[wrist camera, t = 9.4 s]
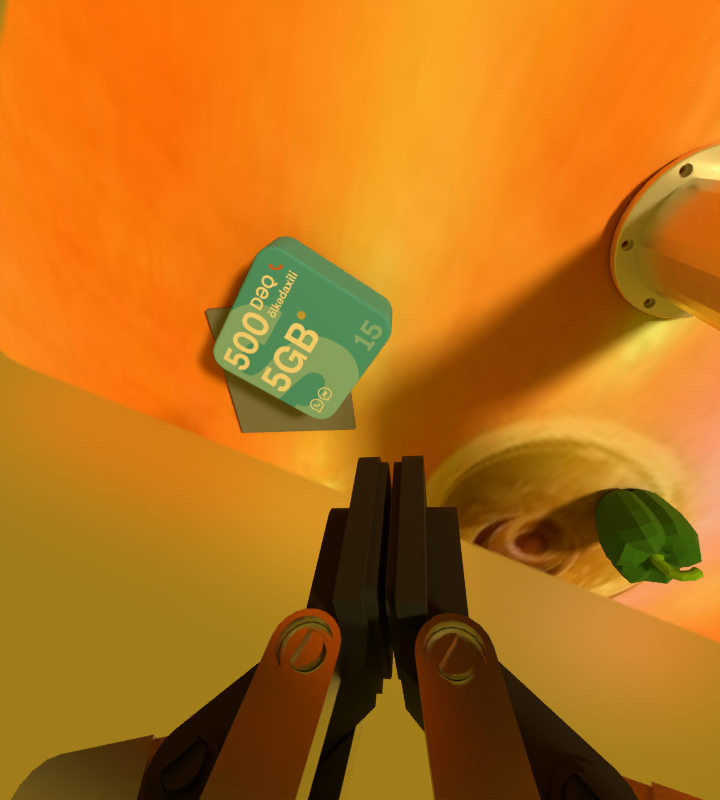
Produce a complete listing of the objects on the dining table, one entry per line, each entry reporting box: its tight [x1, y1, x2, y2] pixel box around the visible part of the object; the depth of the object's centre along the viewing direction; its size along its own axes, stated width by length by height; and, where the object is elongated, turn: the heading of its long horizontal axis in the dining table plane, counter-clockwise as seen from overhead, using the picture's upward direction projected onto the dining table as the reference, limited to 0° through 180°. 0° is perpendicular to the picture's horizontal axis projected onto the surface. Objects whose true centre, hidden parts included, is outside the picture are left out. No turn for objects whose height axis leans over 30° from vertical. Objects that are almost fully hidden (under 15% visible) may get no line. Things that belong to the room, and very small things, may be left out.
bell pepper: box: [595, 489, 703, 584], centre depth 42 cm, size 8×8×10 cm
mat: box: [206, 307, 355, 433], centre depth 41 cm, size 12×14×1 cm
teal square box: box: [213, 237, 392, 419], centre depth 36 cm, size 12×4×12 cm
